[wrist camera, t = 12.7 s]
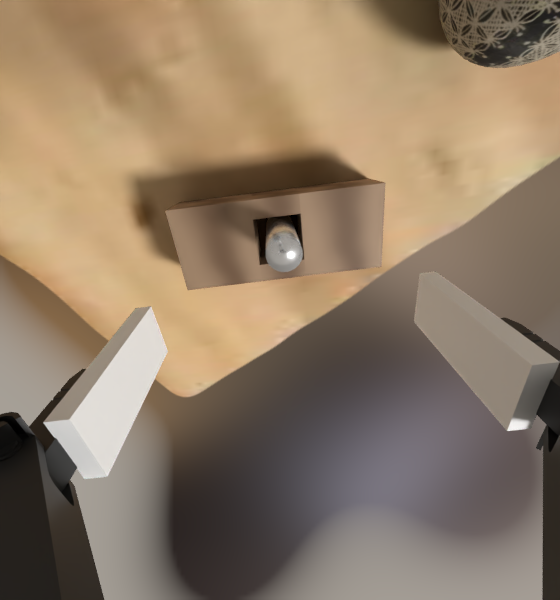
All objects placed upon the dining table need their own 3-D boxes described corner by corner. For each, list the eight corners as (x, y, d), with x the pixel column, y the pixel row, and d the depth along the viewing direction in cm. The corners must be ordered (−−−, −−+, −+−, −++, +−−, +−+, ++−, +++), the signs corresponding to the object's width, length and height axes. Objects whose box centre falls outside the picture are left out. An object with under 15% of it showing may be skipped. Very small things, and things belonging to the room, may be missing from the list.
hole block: (198, 272, 34) (187, 290, 30) (179, 202, 31) (165, 210, 26) (366, 251, 34) (381, 266, 29) (368, 178, 30) (385, 182, 26)
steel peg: (268, 241, 33) (268, 274, 24) (264, 214, 32) (263, 238, 23) (294, 238, 33) (304, 269, 24) (291, 211, 32) (301, 233, 23)
